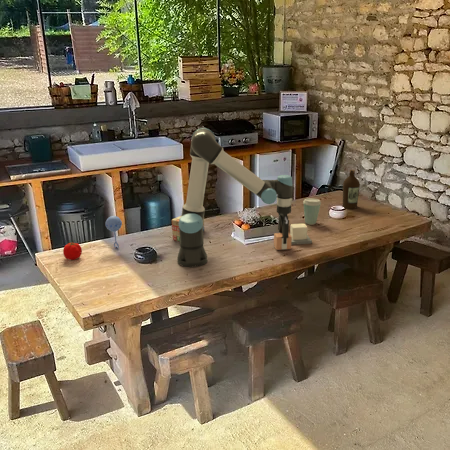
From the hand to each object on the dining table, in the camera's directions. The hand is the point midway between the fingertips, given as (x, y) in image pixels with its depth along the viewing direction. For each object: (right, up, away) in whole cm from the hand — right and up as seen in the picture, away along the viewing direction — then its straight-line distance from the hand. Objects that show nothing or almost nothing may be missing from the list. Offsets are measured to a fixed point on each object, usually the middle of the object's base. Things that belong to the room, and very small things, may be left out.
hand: (282, 246), depth 264 cm
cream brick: (+10, +5, +10) cm, 15 cm away
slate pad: (+10, +3, +11) cm, 15 cm away
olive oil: (+52, +23, +65) cm, 86 cm away
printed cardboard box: (-52, +5, +22) cm, 56 cm away
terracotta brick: (0, 0, 0) cm, 0 cm away
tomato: (-109, -6, -7) cm, 110 cm away
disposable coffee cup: (+22, +12, +37) cm, 45 cm away
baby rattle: (-90, -1, +5) cm, 90 cm away
